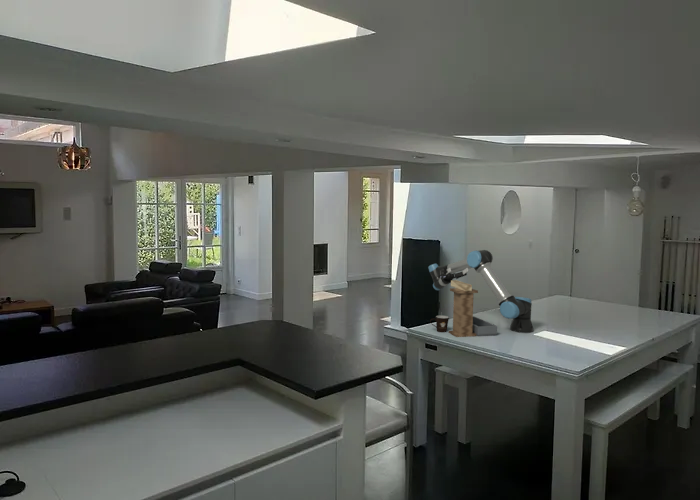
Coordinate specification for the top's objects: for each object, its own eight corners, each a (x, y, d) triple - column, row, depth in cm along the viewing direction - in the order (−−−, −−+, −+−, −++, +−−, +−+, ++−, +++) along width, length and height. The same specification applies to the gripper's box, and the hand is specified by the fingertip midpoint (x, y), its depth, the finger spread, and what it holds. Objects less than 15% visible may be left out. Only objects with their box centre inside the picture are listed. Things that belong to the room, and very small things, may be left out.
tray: (473, 324, 382) (473, 316, 382) (497, 335, 351) (497, 326, 351) (455, 325, 378) (456, 317, 378) (477, 336, 348) (478, 327, 347)
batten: (456, 286, 364) (456, 280, 364) (471, 291, 343) (471, 284, 342) (450, 286, 363) (451, 280, 363) (465, 291, 342) (466, 285, 341)
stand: (467, 331, 359) (469, 287, 357) (476, 336, 347) (477, 290, 345) (448, 332, 355) (449, 288, 353) (456, 337, 344) (458, 291, 341)
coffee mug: (449, 331, 361) (450, 316, 360) (446, 333, 353) (446, 318, 353) (432, 328, 366) (433, 314, 365) (429, 331, 358) (429, 316, 357)
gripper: (461, 284, 395) (475, 274, 376) (431, 284, 388) (443, 274, 369) (459, 274, 398) (473, 264, 379) (429, 274, 390) (441, 264, 372)
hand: (458, 269), depth 374 cm, fingers open, 13 cm apart
